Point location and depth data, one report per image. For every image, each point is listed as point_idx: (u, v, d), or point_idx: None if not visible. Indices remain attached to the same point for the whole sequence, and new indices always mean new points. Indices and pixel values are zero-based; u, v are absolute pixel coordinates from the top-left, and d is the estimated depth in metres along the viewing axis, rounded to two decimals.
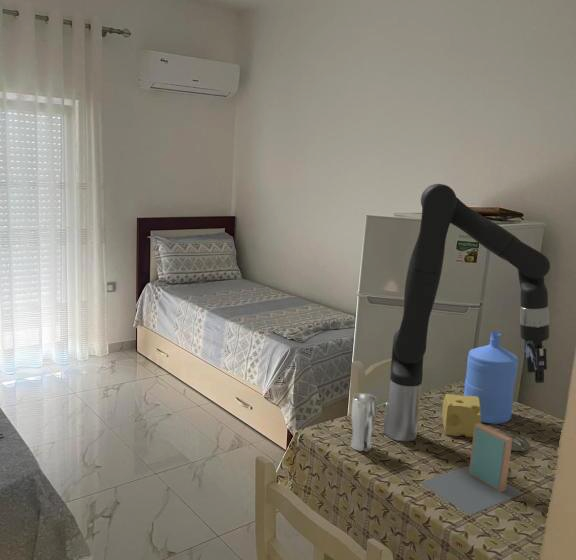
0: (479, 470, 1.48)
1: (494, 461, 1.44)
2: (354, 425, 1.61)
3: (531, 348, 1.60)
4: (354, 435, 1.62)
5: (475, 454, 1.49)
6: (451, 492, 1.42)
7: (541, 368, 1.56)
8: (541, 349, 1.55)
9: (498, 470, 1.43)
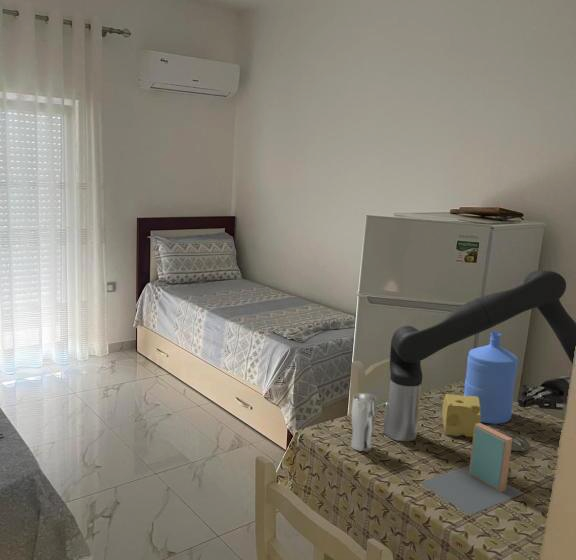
0: (479, 470, 1.48)
1: (494, 461, 1.44)
2: (354, 425, 1.61)
3: (551, 393, 1.52)
4: (354, 435, 1.62)
5: (475, 454, 1.49)
6: (451, 492, 1.42)
7: (543, 403, 1.49)
8: (563, 405, 1.48)
9: (498, 470, 1.43)
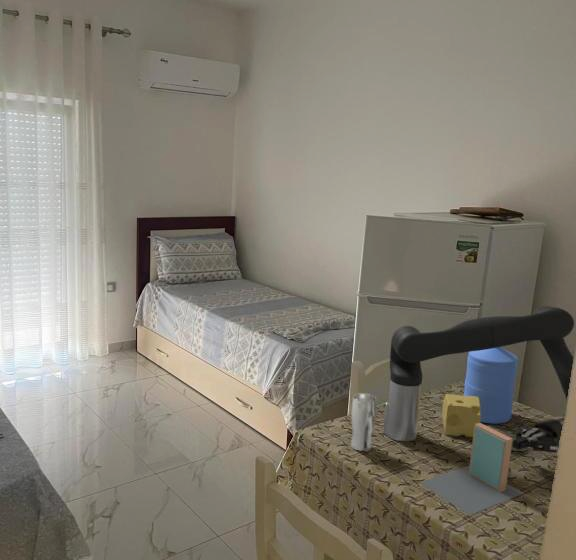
0: (479, 470, 1.48)
1: (494, 461, 1.44)
2: (354, 425, 1.61)
3: (545, 435, 1.55)
4: (354, 435, 1.62)
5: (475, 454, 1.49)
6: (451, 492, 1.42)
7: (537, 445, 1.51)
8: (556, 448, 1.51)
9: (498, 470, 1.43)
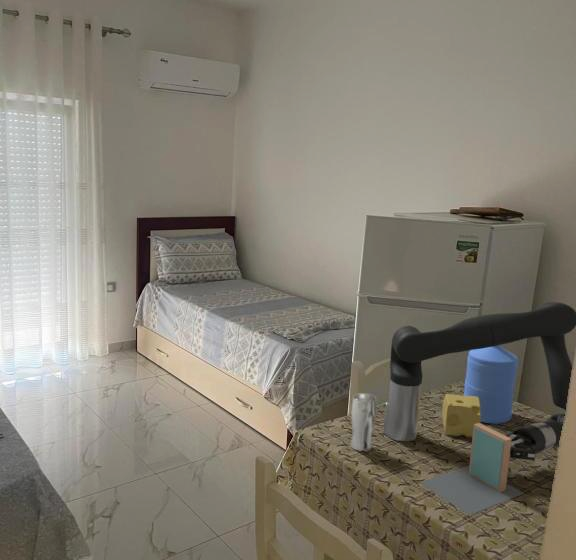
0: (479, 470, 1.48)
1: (493, 461, 1.43)
2: (354, 425, 1.61)
3: (523, 442, 1.50)
4: (354, 435, 1.62)
5: (475, 454, 1.48)
6: (451, 492, 1.42)
7: (515, 453, 1.46)
8: (534, 455, 1.46)
9: (498, 470, 1.43)
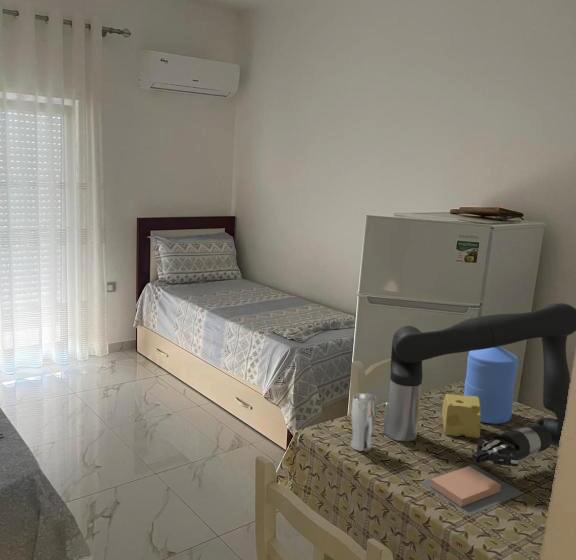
0: None
1: None
2: (354, 425, 1.61)
3: (506, 448, 1.46)
4: (354, 435, 1.62)
5: None
6: None
7: (498, 459, 1.43)
8: None
9: None
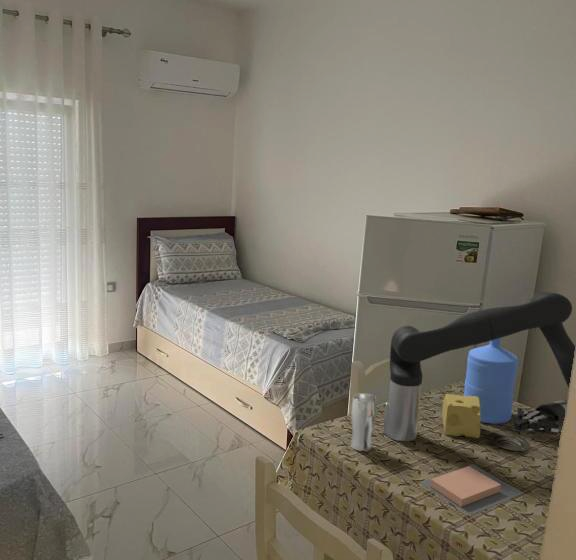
0: None
1: None
2: (354, 425, 1.61)
3: (546, 418, 1.54)
4: (354, 435, 1.62)
5: None
6: None
7: (539, 427, 1.50)
8: (558, 430, 1.50)
9: None
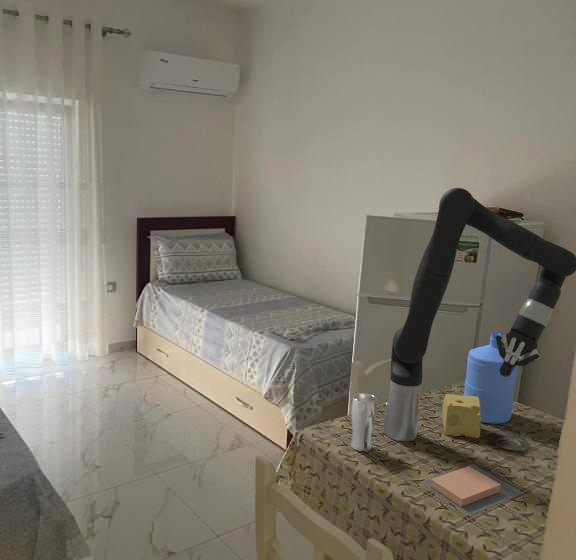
0: None
1: None
2: (354, 425, 1.61)
3: (524, 346, 1.53)
4: (354, 435, 1.62)
5: None
6: None
7: (522, 364, 1.54)
8: (539, 357, 1.52)
9: None
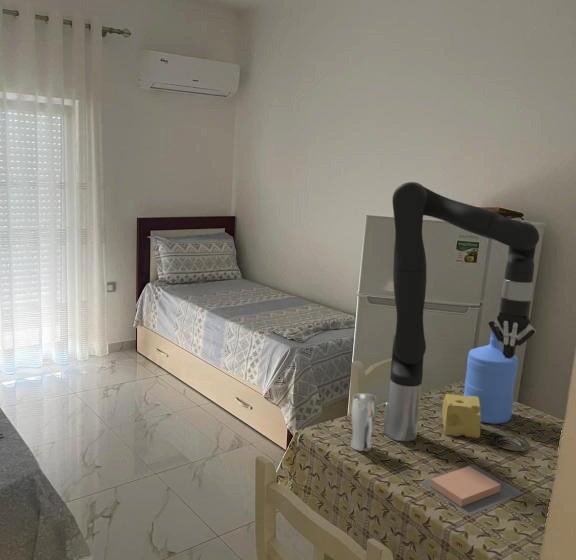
0: None
1: None
2: (354, 425, 1.61)
3: (518, 325, 1.54)
4: (354, 435, 1.62)
5: None
6: None
7: None
8: (535, 331, 1.53)
9: None
